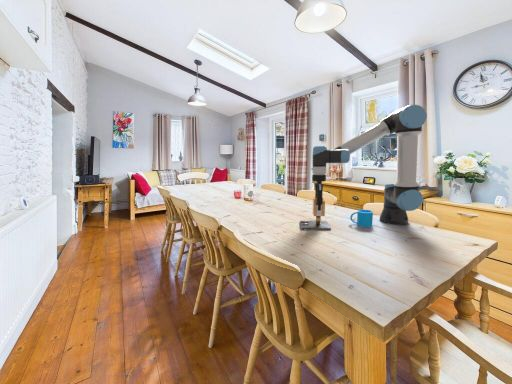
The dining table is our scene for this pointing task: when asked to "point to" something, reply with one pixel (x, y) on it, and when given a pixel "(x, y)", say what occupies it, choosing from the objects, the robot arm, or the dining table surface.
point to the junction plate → (315, 224)
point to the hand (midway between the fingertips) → (318, 214)
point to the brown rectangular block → (316, 207)
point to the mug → (363, 218)
